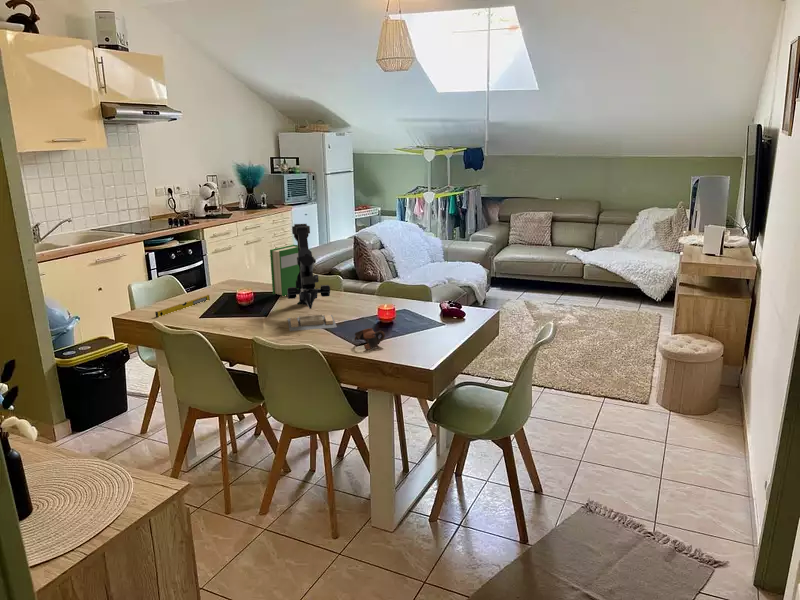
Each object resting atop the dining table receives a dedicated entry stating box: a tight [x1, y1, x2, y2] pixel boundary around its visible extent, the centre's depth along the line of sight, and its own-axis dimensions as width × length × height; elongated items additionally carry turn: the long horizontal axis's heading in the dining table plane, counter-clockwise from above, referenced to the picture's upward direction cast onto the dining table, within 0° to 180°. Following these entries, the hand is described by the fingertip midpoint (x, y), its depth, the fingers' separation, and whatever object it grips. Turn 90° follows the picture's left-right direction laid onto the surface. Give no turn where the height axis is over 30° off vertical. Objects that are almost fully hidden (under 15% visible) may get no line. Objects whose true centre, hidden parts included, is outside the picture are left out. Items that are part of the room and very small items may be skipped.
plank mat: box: [287, 314, 338, 332], centre depth 265 cm, size 19×20×3 cm
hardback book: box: [269, 244, 300, 297], centre depth 319 cm, size 18×7×24 cm, turn 147°
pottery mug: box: [354, 327, 386, 350], centre depth 239 cm, size 12×10×8 cm
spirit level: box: [154, 294, 211, 318], centre depth 294 cm, size 33×1×3 cm, turn 154°
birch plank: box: [298, 314, 324, 326], centre depth 265 cm, size 2×10×8 cm
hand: (310, 308), depth 266 cm, fingers closed
